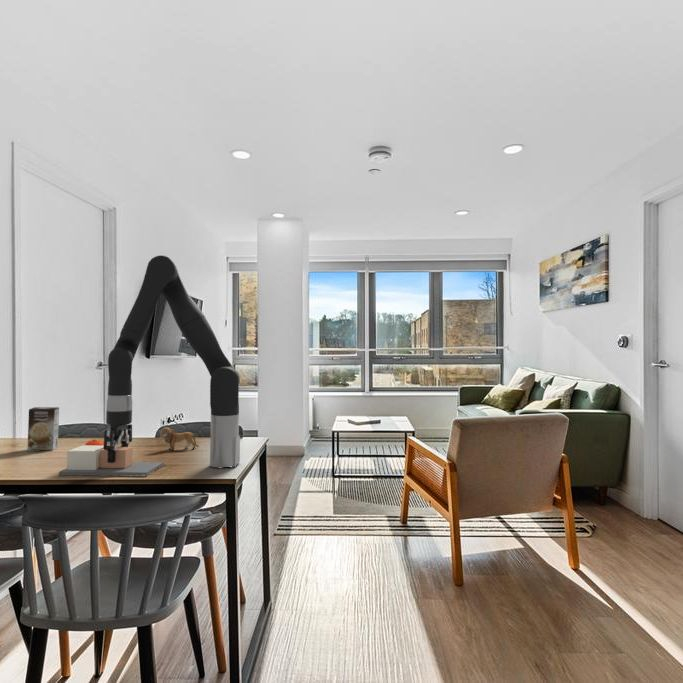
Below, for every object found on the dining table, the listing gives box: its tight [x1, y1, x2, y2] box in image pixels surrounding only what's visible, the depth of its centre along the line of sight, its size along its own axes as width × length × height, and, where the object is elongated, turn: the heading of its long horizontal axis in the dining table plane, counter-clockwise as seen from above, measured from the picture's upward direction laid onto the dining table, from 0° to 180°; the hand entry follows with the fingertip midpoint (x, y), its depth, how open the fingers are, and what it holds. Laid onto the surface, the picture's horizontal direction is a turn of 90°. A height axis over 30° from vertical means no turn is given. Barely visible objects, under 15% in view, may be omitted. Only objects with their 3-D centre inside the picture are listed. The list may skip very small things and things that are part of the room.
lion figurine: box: [159, 427, 200, 451], centre depth 187 cm, size 15×5×9 cm, turn 120°
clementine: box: [84, 438, 104, 446], centre depth 170 cm, size 8×7×7 cm
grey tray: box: [58, 444, 165, 477], centre depth 153 cm, size 27×14×7 cm, turn 90°
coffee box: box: [26, 406, 60, 452], centre depth 185 cm, size 9×6×16 cm
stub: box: [100, 446, 133, 468], centre depth 153 cm, size 8×5×6 cm, turn 90°
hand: (117, 459), depth 153 cm, fingers open, 8 cm apart
